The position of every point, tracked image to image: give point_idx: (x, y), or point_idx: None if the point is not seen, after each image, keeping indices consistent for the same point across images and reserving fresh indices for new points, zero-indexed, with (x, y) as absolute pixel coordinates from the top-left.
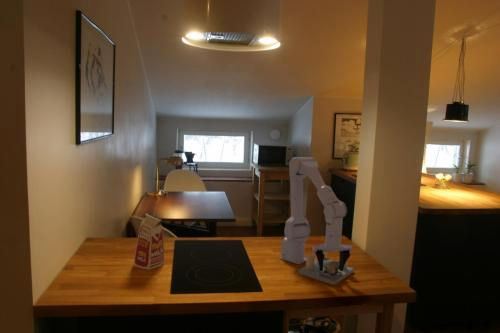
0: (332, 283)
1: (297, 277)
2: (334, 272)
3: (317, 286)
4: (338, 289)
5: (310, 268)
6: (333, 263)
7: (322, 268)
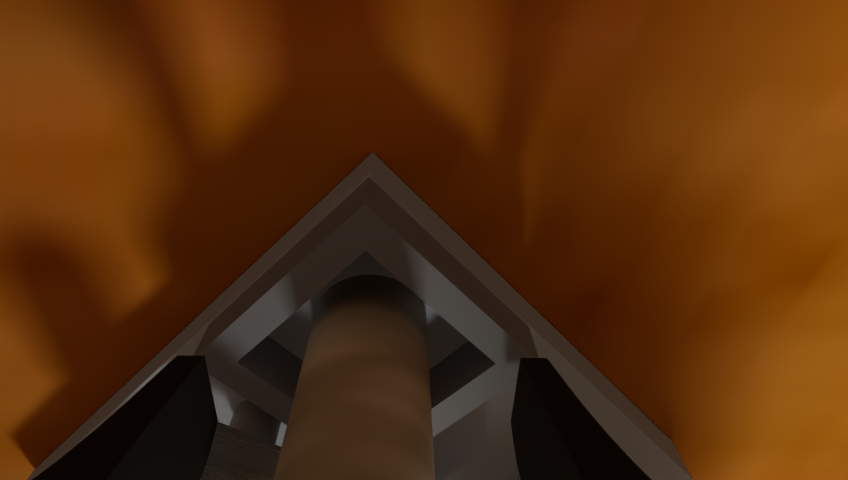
0: (389, 176)
1: (738, 361)
2: (322, 334)
3: (623, 125)
4: (348, 12)
5: None
6: (337, 454)
7: (541, 382)
